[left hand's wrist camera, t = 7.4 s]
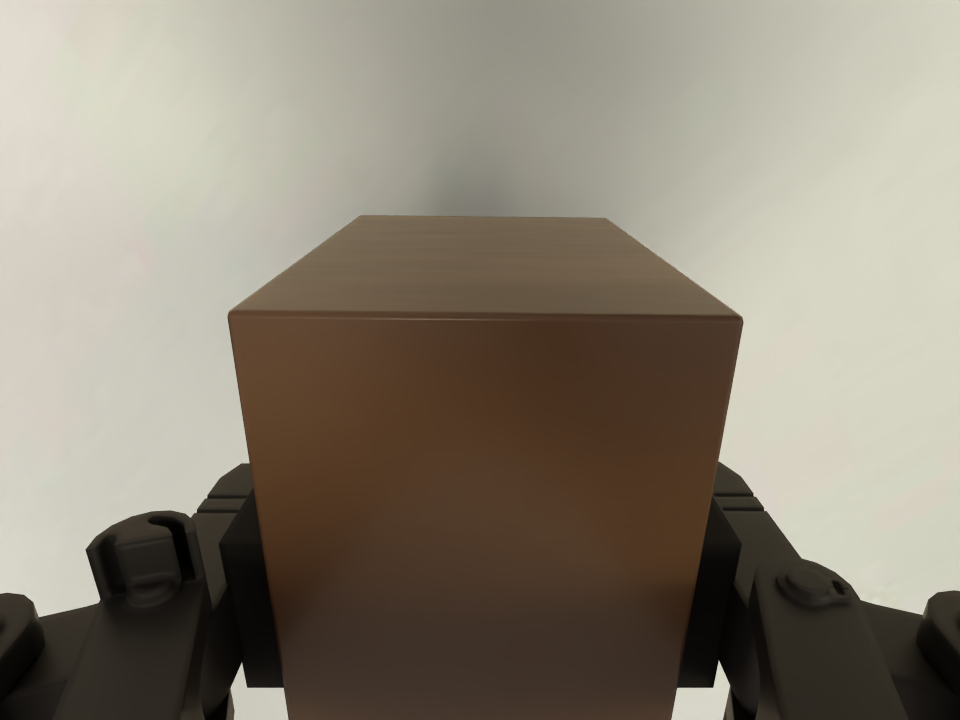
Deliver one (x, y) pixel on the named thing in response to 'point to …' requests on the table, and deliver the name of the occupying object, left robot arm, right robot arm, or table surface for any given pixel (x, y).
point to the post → (482, 467)
